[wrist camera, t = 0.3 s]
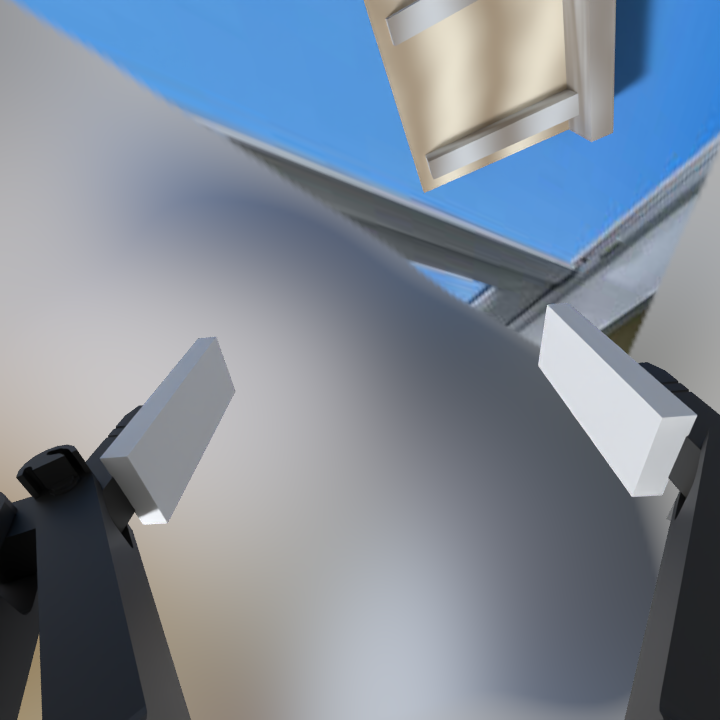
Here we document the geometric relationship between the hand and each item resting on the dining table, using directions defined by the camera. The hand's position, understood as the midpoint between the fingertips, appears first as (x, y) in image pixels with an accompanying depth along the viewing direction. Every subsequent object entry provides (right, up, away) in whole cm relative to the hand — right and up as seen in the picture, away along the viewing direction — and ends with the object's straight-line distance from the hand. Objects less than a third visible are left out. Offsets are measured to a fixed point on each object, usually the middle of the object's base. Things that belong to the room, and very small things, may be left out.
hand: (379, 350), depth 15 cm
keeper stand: (+10, +23, +13) cm, 28 cm away
